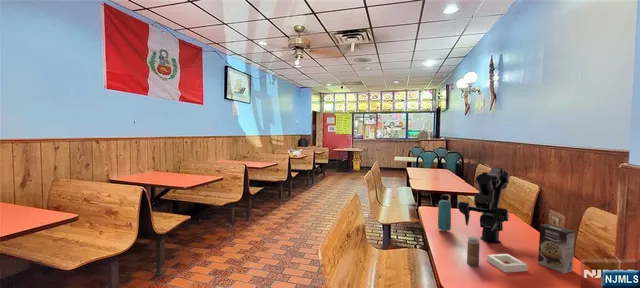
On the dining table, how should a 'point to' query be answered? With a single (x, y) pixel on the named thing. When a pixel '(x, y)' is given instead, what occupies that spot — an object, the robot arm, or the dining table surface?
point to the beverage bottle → (444, 213)
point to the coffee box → (556, 247)
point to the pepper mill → (473, 252)
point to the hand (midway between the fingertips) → (478, 227)
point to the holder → (512, 267)
